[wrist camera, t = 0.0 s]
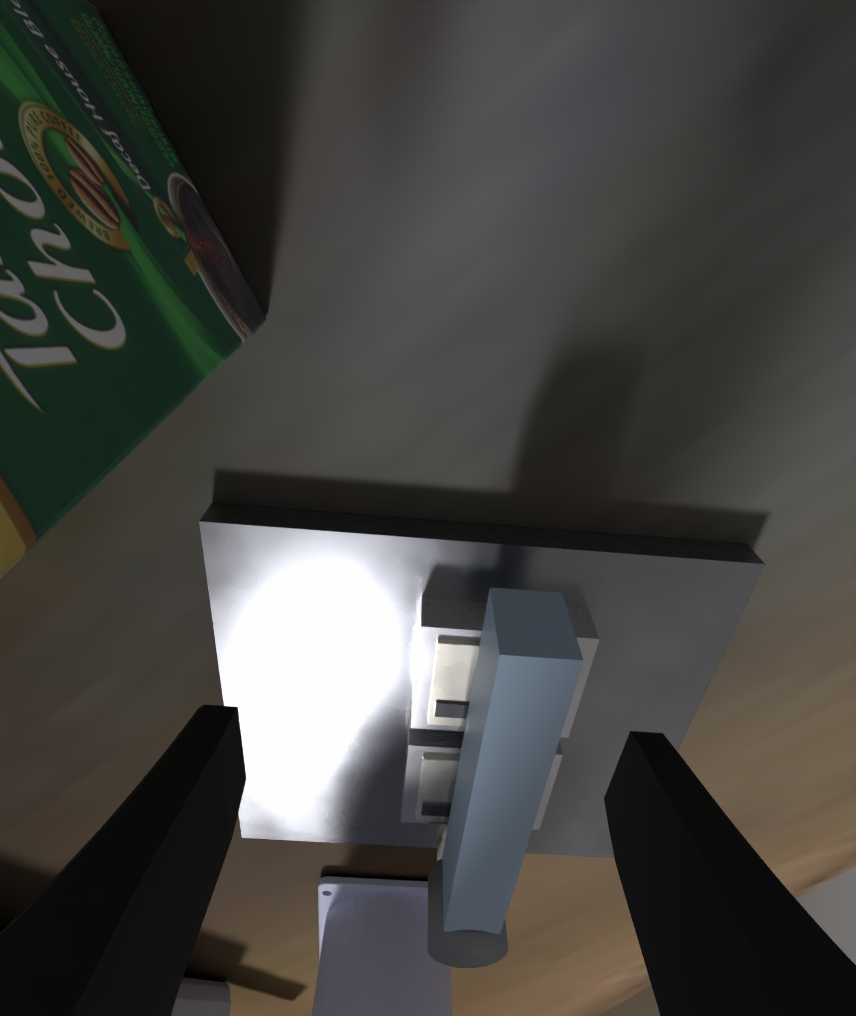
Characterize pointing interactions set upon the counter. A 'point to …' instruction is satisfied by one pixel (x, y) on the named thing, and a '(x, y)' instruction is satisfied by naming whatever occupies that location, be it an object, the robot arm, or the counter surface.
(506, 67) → the counter surface
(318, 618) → the chassis
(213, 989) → the black banded cylinder
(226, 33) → the counter surface
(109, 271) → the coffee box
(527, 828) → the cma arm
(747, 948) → the robot arm
